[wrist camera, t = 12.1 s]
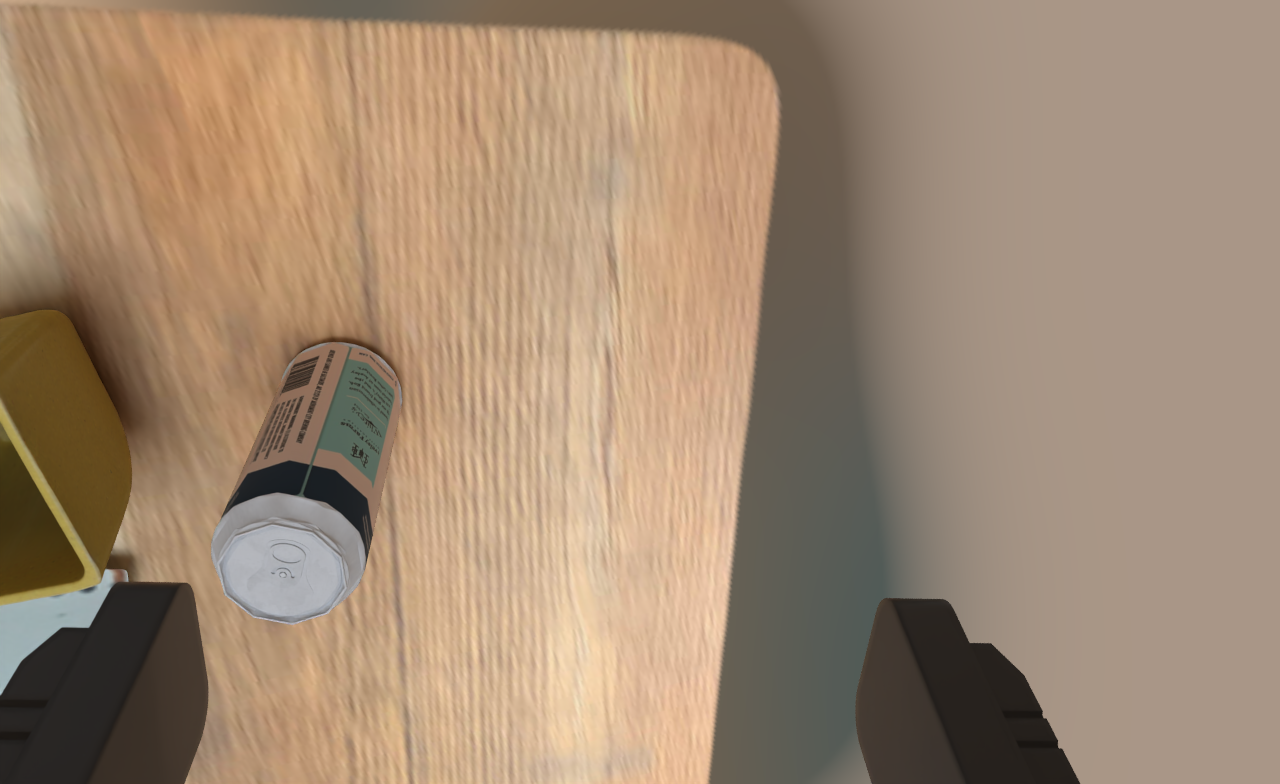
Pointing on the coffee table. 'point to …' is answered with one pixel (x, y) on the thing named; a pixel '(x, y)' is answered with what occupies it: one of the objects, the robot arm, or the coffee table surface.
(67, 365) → the flower pot
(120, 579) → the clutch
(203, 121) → the coffee table surface
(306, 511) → the beer can
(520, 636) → the coffee table surface
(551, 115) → the coffee table surface
